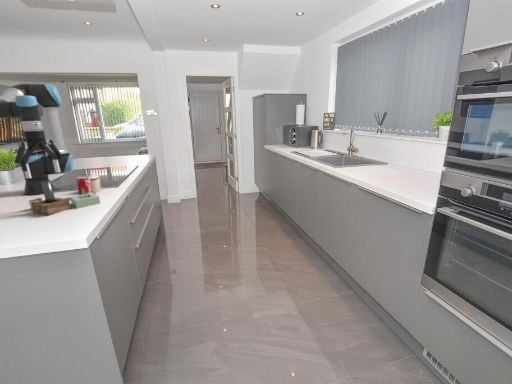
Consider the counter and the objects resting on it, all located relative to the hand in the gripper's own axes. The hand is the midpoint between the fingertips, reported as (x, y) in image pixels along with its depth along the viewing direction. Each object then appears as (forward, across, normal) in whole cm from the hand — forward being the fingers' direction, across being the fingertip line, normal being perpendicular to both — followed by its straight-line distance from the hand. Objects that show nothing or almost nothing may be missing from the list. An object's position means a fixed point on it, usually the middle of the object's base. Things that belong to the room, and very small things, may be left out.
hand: (44, 175), depth 132 cm
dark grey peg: (+19, 0, 0) cm, 19 cm away
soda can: (+19, +24, +6) cm, 31 cm away
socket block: (+19, 0, 0) cm, 19 cm away
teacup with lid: (+18, +35, +13) cm, 42 cm away
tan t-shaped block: (+18, 0, +8) cm, 20 cm away
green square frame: (+18, +14, -6) cm, 24 cm away
